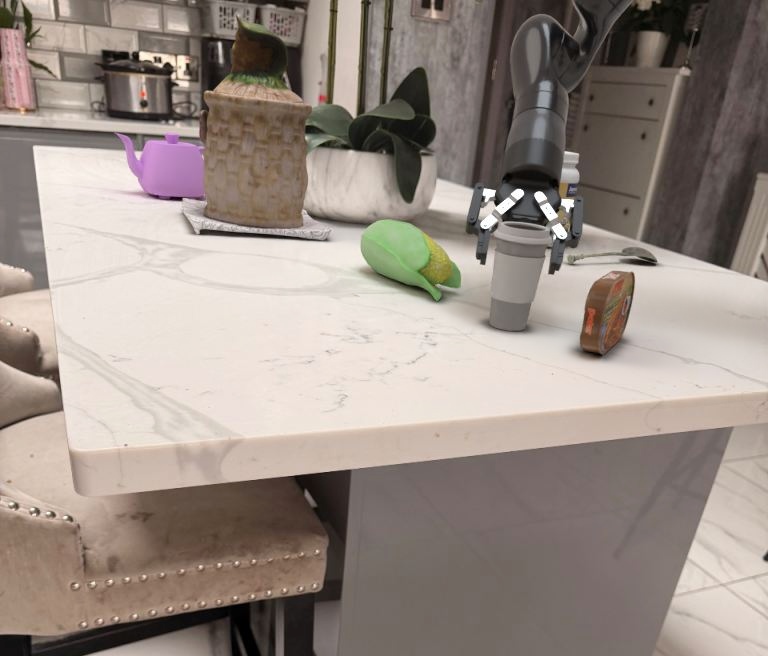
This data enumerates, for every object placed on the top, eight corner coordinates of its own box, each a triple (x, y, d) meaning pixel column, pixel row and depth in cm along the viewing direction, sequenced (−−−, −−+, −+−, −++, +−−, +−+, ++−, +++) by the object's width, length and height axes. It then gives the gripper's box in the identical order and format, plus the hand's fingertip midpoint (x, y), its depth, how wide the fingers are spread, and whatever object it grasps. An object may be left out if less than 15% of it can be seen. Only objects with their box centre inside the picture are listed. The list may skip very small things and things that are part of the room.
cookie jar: (334, 241, 133) (348, 25, 117) (188, 234, 125) (183, 2, 110) (306, 216, 153) (315, 29, 137) (179, 208, 146) (174, 10, 130)
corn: (401, 233, 119) (485, 265, 105) (372, 277, 120) (452, 315, 106) (368, 200, 113) (454, 230, 99) (338, 247, 114) (419, 283, 100)
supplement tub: (566, 251, 148) (587, 156, 140) (504, 243, 149) (521, 147, 141) (563, 241, 159) (582, 151, 150) (505, 233, 160) (521, 144, 151)
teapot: (204, 192, 167) (204, 132, 161) (226, 202, 158) (226, 139, 152) (110, 189, 158) (106, 125, 152) (127, 200, 148) (123, 133, 142)
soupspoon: (663, 269, 146) (637, 263, 151) (668, 251, 144) (641, 245, 149) (581, 267, 134) (555, 260, 139) (585, 247, 133) (559, 241, 138)
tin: (596, 362, 87) (614, 287, 82) (569, 355, 88) (586, 281, 84) (626, 334, 98) (644, 268, 94) (602, 329, 100) (619, 263, 95)
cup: (495, 334, 92) (513, 230, 87) (469, 318, 98) (485, 219, 92) (544, 333, 95) (565, 232, 89) (517, 317, 100) (535, 221, 94)
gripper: (481, 128, 95) (462, 239, 91) (596, 142, 94) (582, 255, 90) (476, 171, 102) (458, 275, 98) (583, 184, 101) (569, 291, 97)
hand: (517, 266), depth 94 cm, fingers open, 8 cm apart
